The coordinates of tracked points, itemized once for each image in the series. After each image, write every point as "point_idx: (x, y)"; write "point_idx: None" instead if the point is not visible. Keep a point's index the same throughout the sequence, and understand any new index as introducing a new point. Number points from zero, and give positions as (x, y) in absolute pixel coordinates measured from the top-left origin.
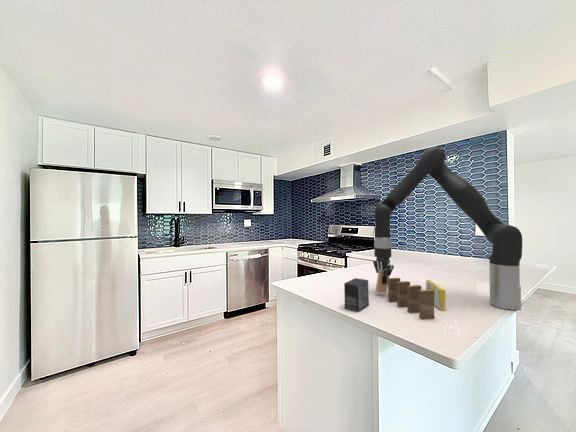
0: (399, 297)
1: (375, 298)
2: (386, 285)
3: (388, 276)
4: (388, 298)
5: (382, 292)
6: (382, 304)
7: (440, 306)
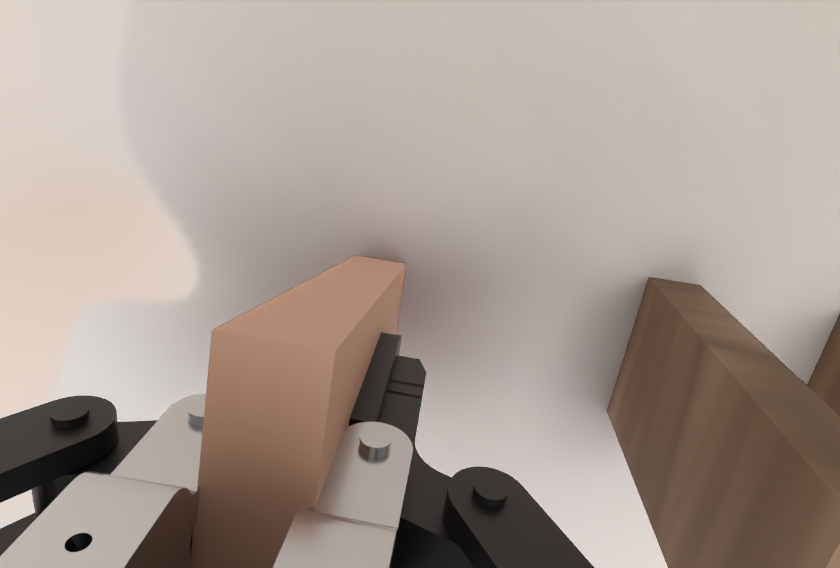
0: None
1: (458, 461)
2: (389, 310)
3: (361, 348)
4: (621, 433)
5: (395, 332)
6: (647, 528)
7: None
